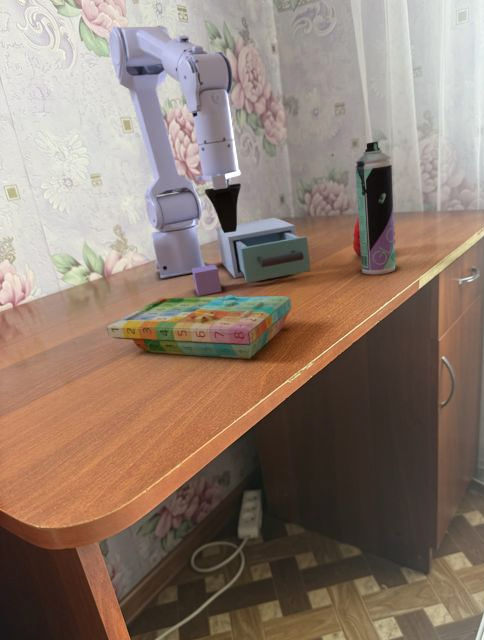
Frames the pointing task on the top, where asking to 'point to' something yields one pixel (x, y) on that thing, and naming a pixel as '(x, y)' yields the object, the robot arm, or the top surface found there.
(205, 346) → the puzzle game
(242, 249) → the open teal drawer
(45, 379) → the top surface
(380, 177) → the spray can
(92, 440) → the top surface
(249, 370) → the top surface
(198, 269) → the lavender toy cube
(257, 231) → the mini drawer cabinet
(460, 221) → the top surface
